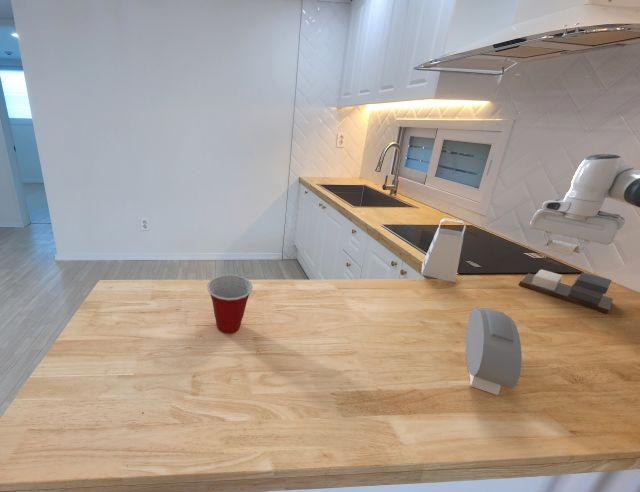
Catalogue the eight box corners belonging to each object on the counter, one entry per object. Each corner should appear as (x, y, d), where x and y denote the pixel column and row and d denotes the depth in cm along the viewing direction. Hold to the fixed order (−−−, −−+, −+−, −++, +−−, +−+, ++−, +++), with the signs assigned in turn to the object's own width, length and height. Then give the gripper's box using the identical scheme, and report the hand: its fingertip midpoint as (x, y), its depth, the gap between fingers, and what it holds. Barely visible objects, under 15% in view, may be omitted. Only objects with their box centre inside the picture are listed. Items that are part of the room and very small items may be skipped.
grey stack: (602, 296, 109) (611, 279, 107) (599, 305, 103) (608, 288, 100) (572, 287, 114) (580, 271, 112) (567, 295, 108) (575, 278, 106)
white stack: (559, 283, 116) (563, 275, 115) (554, 291, 110) (558, 282, 109) (537, 276, 120) (540, 268, 119) (530, 283, 115) (534, 275, 113)
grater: (421, 264, 129) (436, 214, 121) (453, 271, 124) (470, 219, 117) (421, 274, 120) (437, 221, 112) (455, 282, 116) (473, 227, 108)
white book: (575, 249, 111) (577, 245, 111) (570, 255, 106) (573, 250, 105) (552, 244, 116) (554, 239, 115) (546, 249, 110) (548, 244, 109)
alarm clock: (505, 408, 64) (531, 354, 59) (468, 395, 67) (489, 342, 62) (490, 344, 83) (509, 299, 78) (461, 336, 86) (478, 292, 81)
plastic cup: (197, 332, 81) (198, 288, 76) (218, 311, 90) (220, 270, 86) (238, 346, 77) (241, 300, 72) (256, 322, 86) (259, 281, 82)
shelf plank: (610, 302, 108) (613, 298, 108) (607, 314, 101) (609, 309, 100) (526, 276, 124) (528, 273, 123) (518, 285, 116) (519, 281, 116)
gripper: (628, 214, 100) (606, 257, 105) (541, 199, 114) (526, 237, 119) (627, 217, 96) (604, 261, 101) (537, 201, 110) (521, 241, 116)
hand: (561, 248), depth 110 cm, fingers closed on white book, 6 cm apart
